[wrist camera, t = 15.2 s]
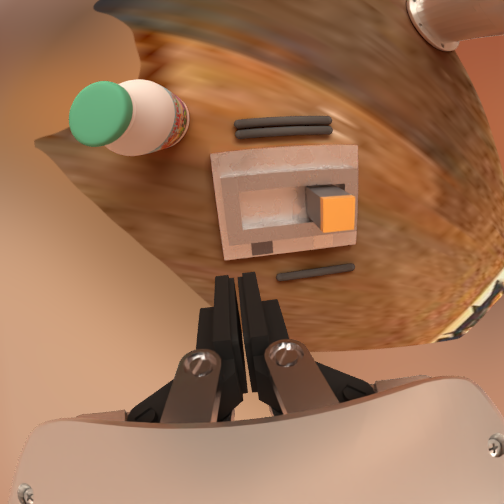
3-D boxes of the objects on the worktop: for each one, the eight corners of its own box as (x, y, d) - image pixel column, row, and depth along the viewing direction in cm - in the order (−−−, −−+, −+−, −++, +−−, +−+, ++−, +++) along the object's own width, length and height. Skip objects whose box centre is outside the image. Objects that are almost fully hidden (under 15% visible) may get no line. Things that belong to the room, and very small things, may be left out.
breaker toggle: (305, 186, 35) (323, 199, 29) (333, 184, 36) (355, 196, 29) (306, 214, 37) (323, 232, 31) (333, 212, 37) (354, 229, 31)
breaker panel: (210, 153, 34) (209, 155, 31) (353, 144, 35) (364, 146, 32) (224, 255, 40) (224, 266, 37) (351, 240, 41) (361, 249, 38)
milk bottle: (137, 153, 33) (57, 181, 15) (132, 100, 30) (48, 79, 12) (192, 144, 33) (155, 158, 15) (188, 89, 30) (146, 45, 12)
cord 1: (235, 139, 34) (235, 139, 33) (233, 120, 33) (233, 119, 31) (331, 134, 34) (334, 134, 33) (329, 116, 33) (333, 116, 32)
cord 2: (275, 279, 43) (277, 283, 42) (275, 272, 42) (276, 276, 41) (352, 268, 44) (355, 271, 42) (353, 261, 43) (356, 265, 42)
